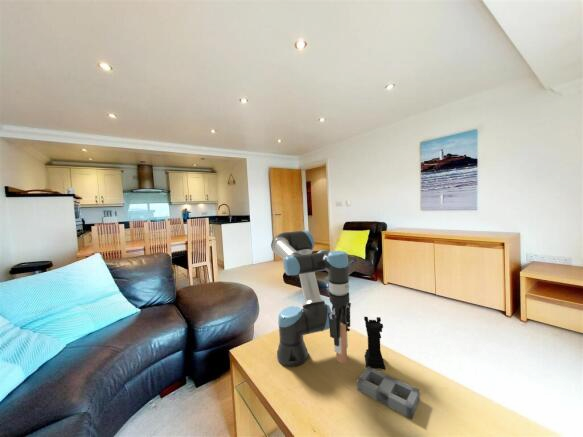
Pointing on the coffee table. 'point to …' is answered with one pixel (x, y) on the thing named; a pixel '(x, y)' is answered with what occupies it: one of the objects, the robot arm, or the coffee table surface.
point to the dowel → (343, 356)
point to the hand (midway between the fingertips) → (341, 349)
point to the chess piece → (374, 344)
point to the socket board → (389, 391)
